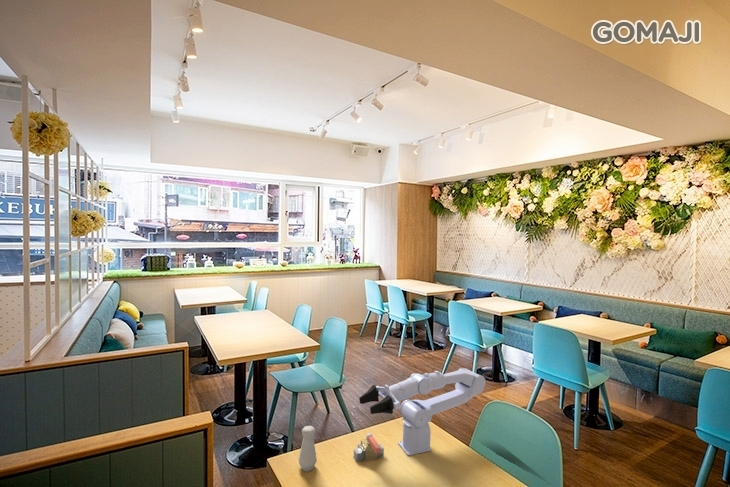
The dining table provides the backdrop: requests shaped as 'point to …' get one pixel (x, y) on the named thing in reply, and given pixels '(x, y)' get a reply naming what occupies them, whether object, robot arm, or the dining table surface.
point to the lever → (373, 443)
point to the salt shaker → (307, 449)
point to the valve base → (366, 452)
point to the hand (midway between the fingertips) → (365, 405)
